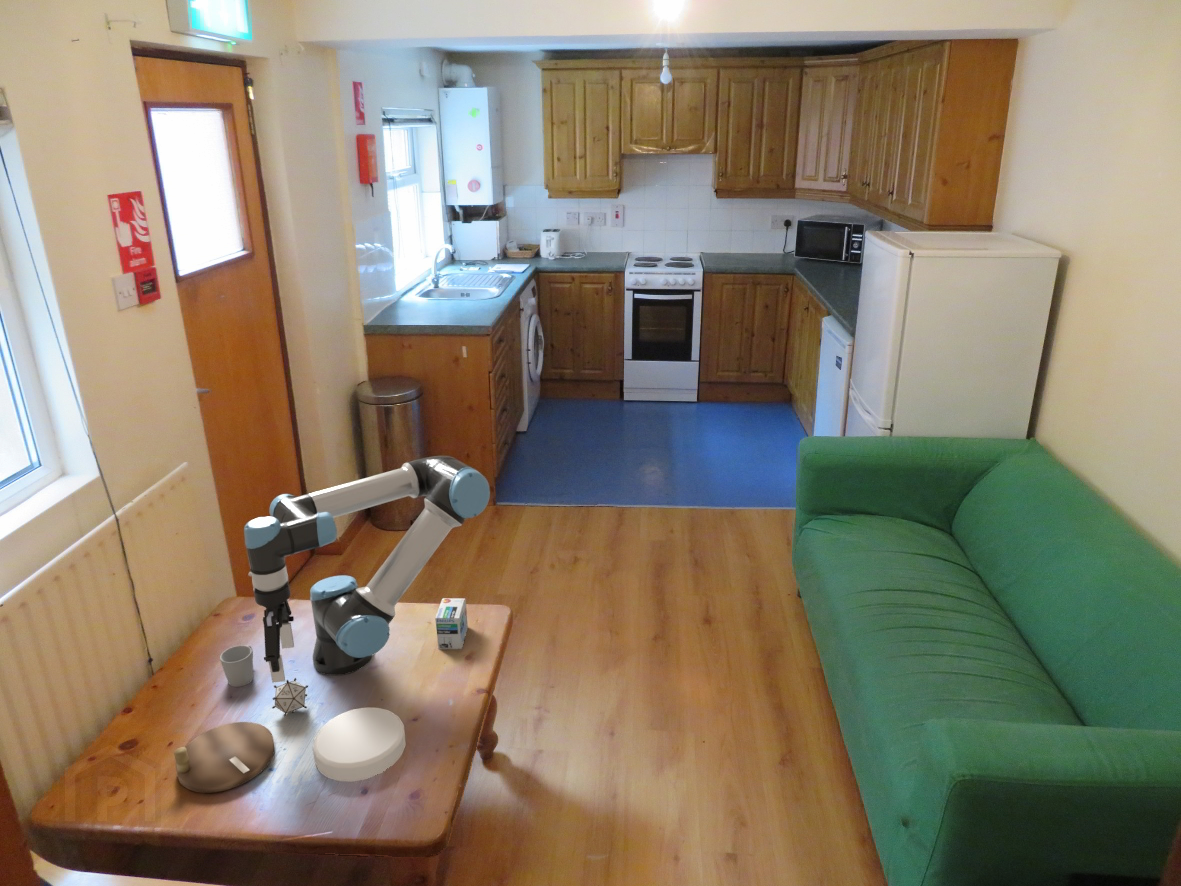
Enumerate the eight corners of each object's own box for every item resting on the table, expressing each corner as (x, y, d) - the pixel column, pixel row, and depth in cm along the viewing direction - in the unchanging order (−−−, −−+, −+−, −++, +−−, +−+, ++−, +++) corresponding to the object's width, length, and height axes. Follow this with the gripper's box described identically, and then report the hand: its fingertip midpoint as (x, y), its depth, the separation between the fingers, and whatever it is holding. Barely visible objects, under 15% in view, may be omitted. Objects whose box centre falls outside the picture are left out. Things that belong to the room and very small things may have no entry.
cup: (219, 690, 206) (213, 661, 203) (240, 666, 216) (235, 638, 213) (247, 692, 205) (241, 663, 202) (267, 668, 215) (262, 640, 212)
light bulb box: (462, 653, 220) (459, 618, 216) (437, 653, 220) (434, 618, 216) (468, 630, 230) (466, 597, 226) (444, 630, 230) (442, 597, 226)
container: (310, 735, 190) (308, 718, 189) (397, 712, 198) (395, 696, 196) (319, 794, 173) (317, 776, 171) (414, 766, 180) (412, 749, 179)
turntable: (247, 717, 195) (242, 693, 193) (291, 755, 183) (287, 729, 180) (161, 763, 181) (155, 737, 179) (203, 807, 169) (197, 780, 166)
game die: (319, 707, 199) (314, 672, 196) (297, 729, 192) (291, 693, 188) (289, 699, 202) (283, 665, 199) (265, 721, 195) (259, 686, 191)
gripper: (263, 559, 196) (275, 636, 203) (241, 614, 173) (256, 698, 180) (296, 556, 197) (307, 632, 204) (279, 610, 174) (292, 694, 181)
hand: (283, 663), depth 192 cm, fingers open, 13 cm apart
